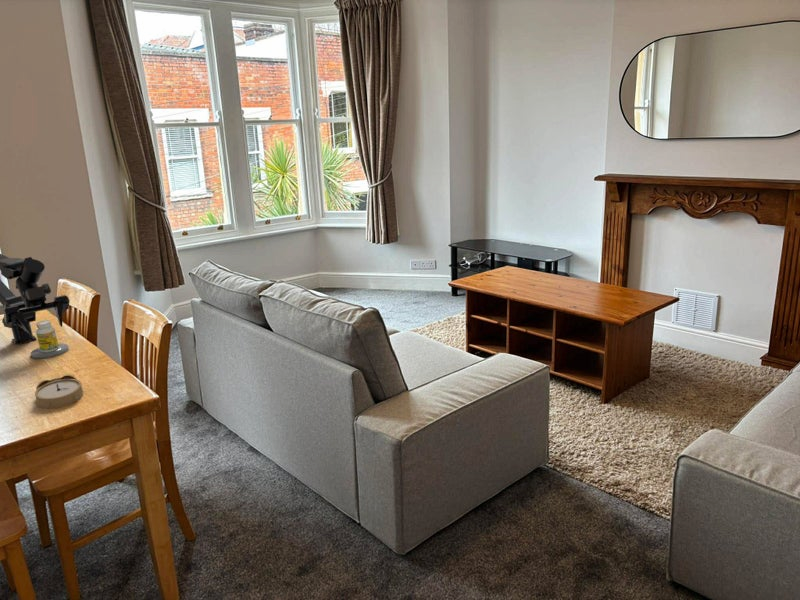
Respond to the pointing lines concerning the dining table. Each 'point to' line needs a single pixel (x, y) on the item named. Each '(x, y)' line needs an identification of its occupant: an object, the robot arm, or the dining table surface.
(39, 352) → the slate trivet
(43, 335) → the supplement bottle
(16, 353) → the dining table surface
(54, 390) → the alarm clock
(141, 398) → the dining table surface
